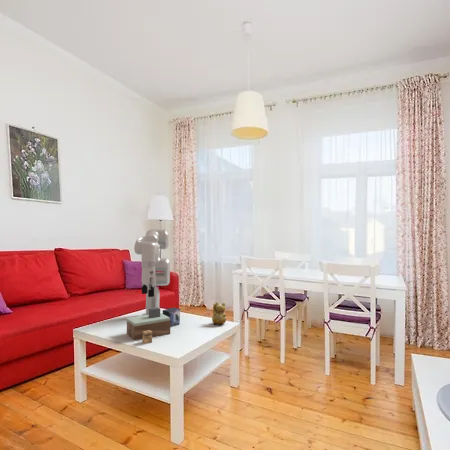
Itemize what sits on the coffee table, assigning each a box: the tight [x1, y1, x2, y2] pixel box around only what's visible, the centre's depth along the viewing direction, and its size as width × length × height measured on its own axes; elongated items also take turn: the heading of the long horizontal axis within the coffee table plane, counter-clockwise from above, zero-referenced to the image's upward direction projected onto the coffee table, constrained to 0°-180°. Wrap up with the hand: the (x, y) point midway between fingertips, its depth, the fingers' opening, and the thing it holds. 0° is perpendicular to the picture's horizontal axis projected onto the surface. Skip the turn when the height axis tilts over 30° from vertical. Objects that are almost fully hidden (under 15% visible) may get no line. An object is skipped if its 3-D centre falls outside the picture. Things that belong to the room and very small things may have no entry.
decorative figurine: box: [211, 300, 227, 326], centre depth 216 cm, size 10×8×15 cm
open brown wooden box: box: [126, 320, 171, 341], centre depth 194 cm, size 14×22×8 cm, turn 125°
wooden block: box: [141, 330, 153, 345], centre depth 180 cm, size 4×4×6 cm
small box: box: [162, 307, 181, 328], centre depth 212 cm, size 11×6×10 cm, turn 143°
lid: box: [125, 307, 170, 326], centre depth 195 cm, size 14×22×6 cm, turn 126°
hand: (147, 295), depth 181 cm, fingers open, 9 cm apart
